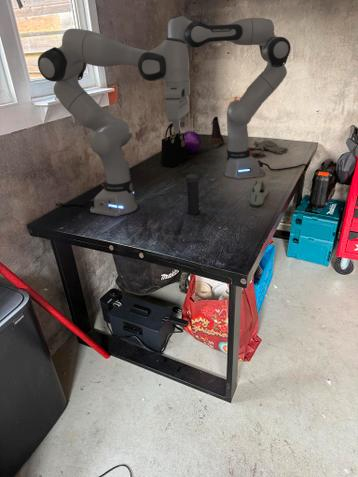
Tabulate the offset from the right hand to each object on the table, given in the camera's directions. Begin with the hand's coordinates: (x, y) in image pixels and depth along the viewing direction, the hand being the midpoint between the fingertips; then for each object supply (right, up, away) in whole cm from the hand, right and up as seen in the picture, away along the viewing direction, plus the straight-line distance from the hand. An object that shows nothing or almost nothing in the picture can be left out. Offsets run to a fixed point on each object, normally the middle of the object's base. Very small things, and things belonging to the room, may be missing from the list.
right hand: (179, 86), depth 168 cm
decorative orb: (+8, -17, +66) cm, 69 cm away
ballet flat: (+39, -58, -7) cm, 70 cm away
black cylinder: (+6, -66, -18) cm, 68 cm away
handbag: (-3, -28, +48) cm, 56 cm away
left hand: (0, -36, -42) cm, 55 cm away
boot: (+29, -6, +83) cm, 89 cm away
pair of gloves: (+56, -18, +60) cm, 83 cm away
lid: (+5, -51, -27) cm, 58 cm away
